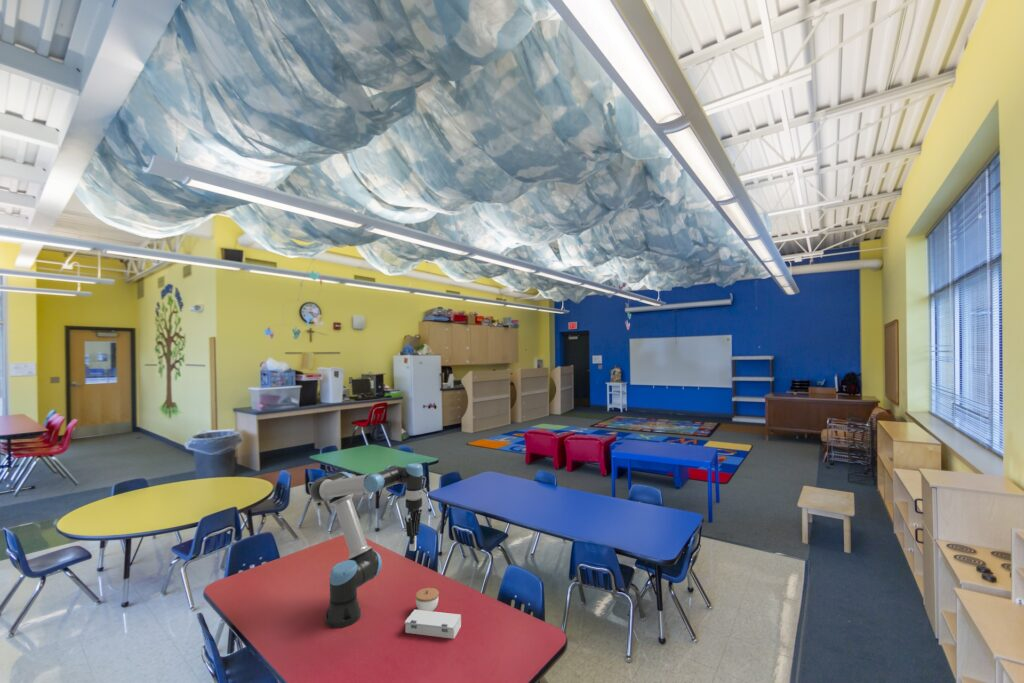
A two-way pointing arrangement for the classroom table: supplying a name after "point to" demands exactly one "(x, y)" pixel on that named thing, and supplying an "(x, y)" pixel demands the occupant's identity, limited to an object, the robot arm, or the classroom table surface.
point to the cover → (433, 619)
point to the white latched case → (434, 630)
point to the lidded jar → (427, 599)
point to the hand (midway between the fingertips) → (412, 550)
